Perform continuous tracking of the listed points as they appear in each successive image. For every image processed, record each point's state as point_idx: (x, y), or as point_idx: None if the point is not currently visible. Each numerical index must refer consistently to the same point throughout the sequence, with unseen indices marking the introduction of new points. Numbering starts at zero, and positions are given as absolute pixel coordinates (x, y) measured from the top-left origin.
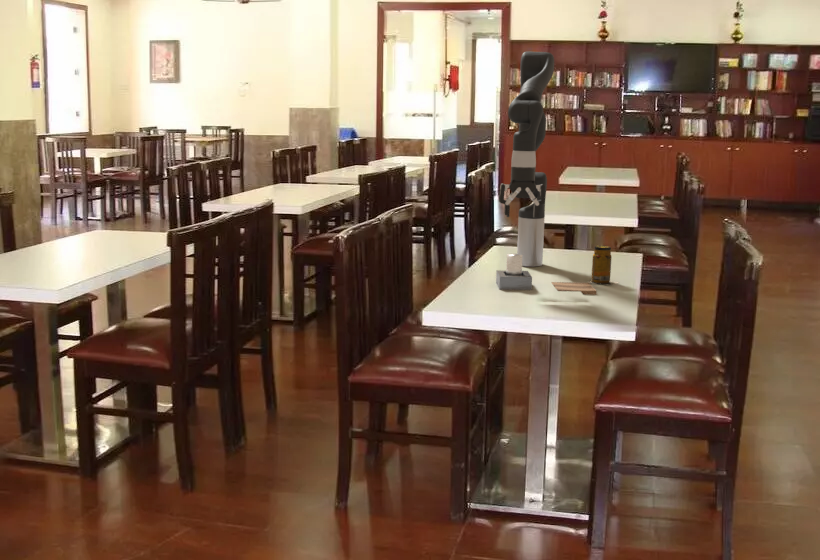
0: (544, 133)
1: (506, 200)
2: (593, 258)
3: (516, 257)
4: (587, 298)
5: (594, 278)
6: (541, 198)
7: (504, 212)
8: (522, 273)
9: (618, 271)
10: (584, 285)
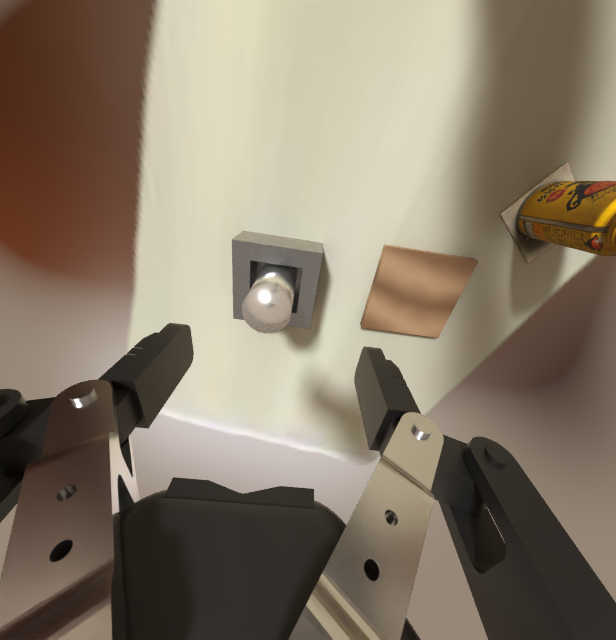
0: None
1: (64, 428)
2: (585, 221)
3: (268, 330)
4: (398, 357)
5: (525, 224)
6: (456, 540)
7: (140, 346)
8: (302, 273)
9: None
10: (446, 290)
